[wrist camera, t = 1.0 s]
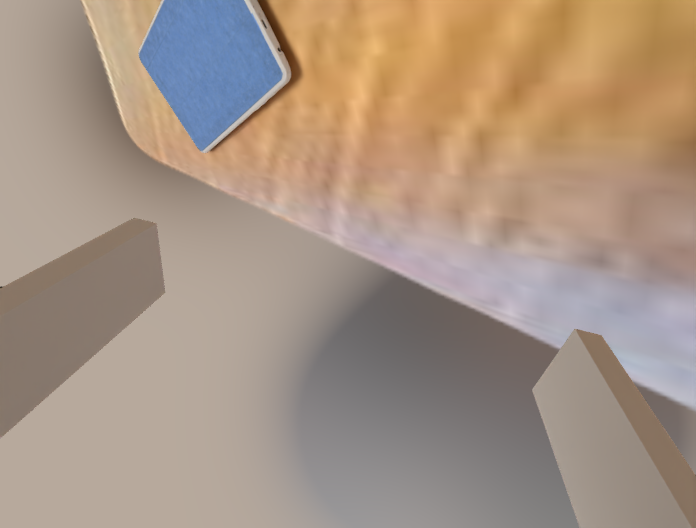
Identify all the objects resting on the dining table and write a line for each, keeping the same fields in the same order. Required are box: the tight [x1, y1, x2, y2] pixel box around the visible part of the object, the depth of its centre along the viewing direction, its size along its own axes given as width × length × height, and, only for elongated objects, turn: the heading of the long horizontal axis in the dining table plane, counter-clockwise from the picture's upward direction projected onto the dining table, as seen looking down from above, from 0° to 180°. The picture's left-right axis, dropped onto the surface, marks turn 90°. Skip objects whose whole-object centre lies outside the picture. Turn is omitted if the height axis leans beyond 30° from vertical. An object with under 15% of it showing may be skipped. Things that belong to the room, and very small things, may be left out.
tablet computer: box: [138, 0, 291, 153], centre depth 34 cm, size 19×13×1 cm, turn 123°
